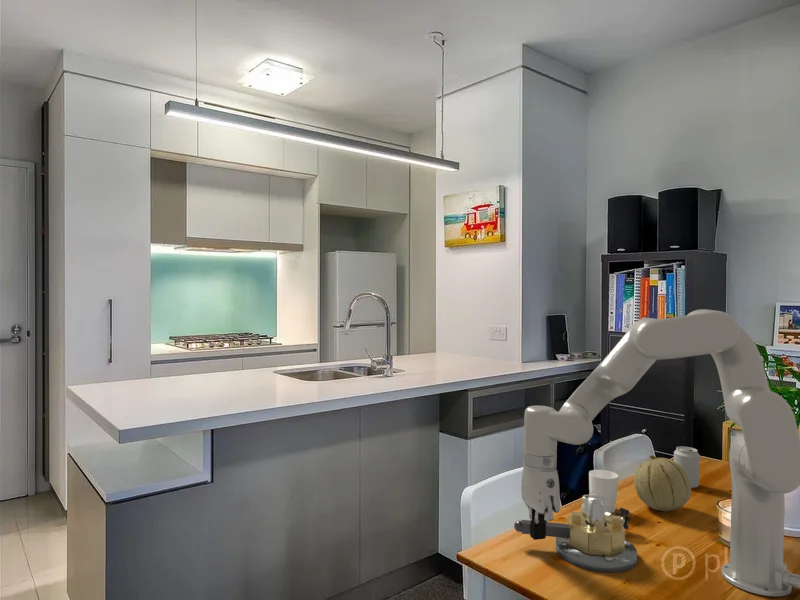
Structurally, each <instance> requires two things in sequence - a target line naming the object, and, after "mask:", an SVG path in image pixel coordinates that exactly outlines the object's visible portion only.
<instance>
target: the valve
mask: <svg viewBox="0 0 800 600" xmlns="http://www.w3.org/2000/svg"><path fill="white" fill-rule="evenodd" d="M588 496H590V494H584V495H582V503H581V507H580V510H581V511H580V512H583V513H588ZM619 511H620V513H619V512H616V513H615V514H614V515H613V513H608V512H606V513H605V515H606V516H608V517H611V515H613V516H620V517H621V519H622V525H623V527H624V529H625V530H629V528H630V526H629V524H628V523H629V522H630V521H631V516H628V515H629V514H630V510H629V509H626V508H623V507H620V508H619Z"/></svg>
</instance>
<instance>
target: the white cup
mask: <svg viewBox="0 0 800 600" xmlns="http://www.w3.org/2000/svg"><path fill="white" fill-rule="evenodd" d="M618 487H619V474H618V473H616V472H614V471H610V470H606V469H593V470H589V471H588V490H589V495H597V496H601V497H603V498H605V513H606V512H608V513H611V514H613V513H615V512H616V506H617V497H618V489H619V488H618Z"/></svg>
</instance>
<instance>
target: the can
mask: <svg viewBox="0 0 800 600" xmlns="http://www.w3.org/2000/svg"><path fill="white" fill-rule="evenodd" d="M698 451H699V450H698V449H696V448H694V447H689V446H676V449H675V450H674V451H673V461H674V462H676V463H677V464H679V465H680V466H681V467H682V468H683V469H684V470H685V472H686V474H687V476H688V477H689V479H690V483H691V488H694V489H696V488H698V487H699V486H700V473H701V472H700V470H701V468H700V466H701V465H700V464H701V462H700V461H701V460H700V459H701V458H700V457H701V455H700V453H699V452H698ZM695 487H696V488H695Z"/></svg>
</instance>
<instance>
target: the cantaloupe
mask: <svg viewBox="0 0 800 600" xmlns="http://www.w3.org/2000/svg"><path fill="white" fill-rule="evenodd" d="M633 475H634V476H633V483H634V489H635V491H636V494H637V496H638V498H639V499H640V501H642V503H644V504H645V505H646V507H647V506H648V507H650V508H651V509H654V510H656V511H661V512H671V511H674V510H678V509H679V508H682V507H684V506H685V505H686V504H687V503H688V502H689V500H690V498H691V495H692V489H691V483H690V479H689V477H688V476H687V474H686V472H685V470H684V469H683V468H682V467H681V466H680V465H679V464H677V463H676V462H674V460H672V459H669V458H665V457H657V456H655V455H653V454H651V455H649V458H648V459H646V460H644V461H642V462H641V463H640V464H639V465H638V467H637V469H635V472H634V474H633Z"/></svg>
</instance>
